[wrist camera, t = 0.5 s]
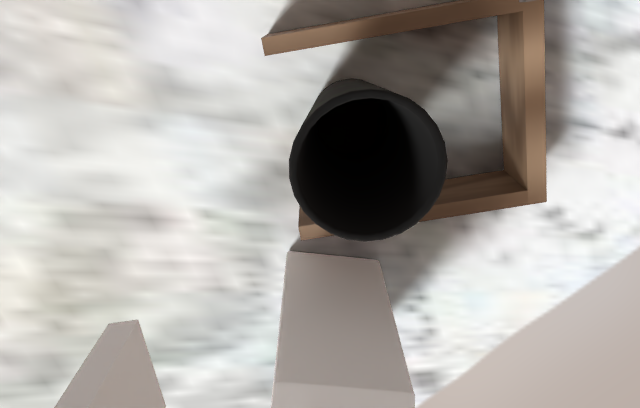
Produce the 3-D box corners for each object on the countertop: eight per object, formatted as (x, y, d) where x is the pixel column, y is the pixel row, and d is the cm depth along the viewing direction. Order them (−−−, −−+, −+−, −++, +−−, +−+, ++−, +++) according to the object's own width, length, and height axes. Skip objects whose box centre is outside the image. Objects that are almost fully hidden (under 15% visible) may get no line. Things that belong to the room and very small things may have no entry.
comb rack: (225, -182, 30) (208, -220, 25) (518, -239, 30) (562, -290, 24) (302, 215, 39) (300, 247, 34) (529, 178, 38) (562, 205, 33)
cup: (402, 56, 35) (445, 80, 24) (408, 165, 38) (450, 232, 27) (288, 70, 35) (277, 100, 24) (303, 177, 38) (299, 249, 27)
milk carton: (287, 249, 40) (267, 444, 22) (379, 258, 40) (432, 457, 23) (278, 328, 43) (255, 560, 25) (365, 336, 43) (403, 569, 25)
